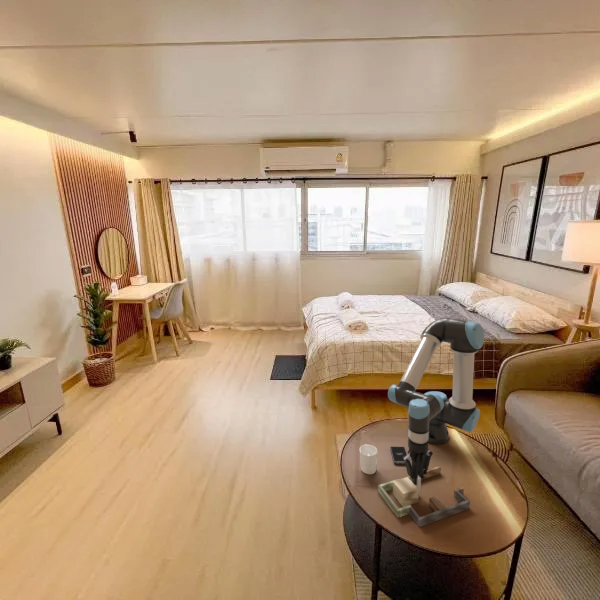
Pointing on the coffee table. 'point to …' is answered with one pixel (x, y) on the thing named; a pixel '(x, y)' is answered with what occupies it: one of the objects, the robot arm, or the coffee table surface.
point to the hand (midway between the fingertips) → (416, 490)
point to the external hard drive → (398, 454)
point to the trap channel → (434, 502)
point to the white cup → (368, 458)
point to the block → (405, 491)
